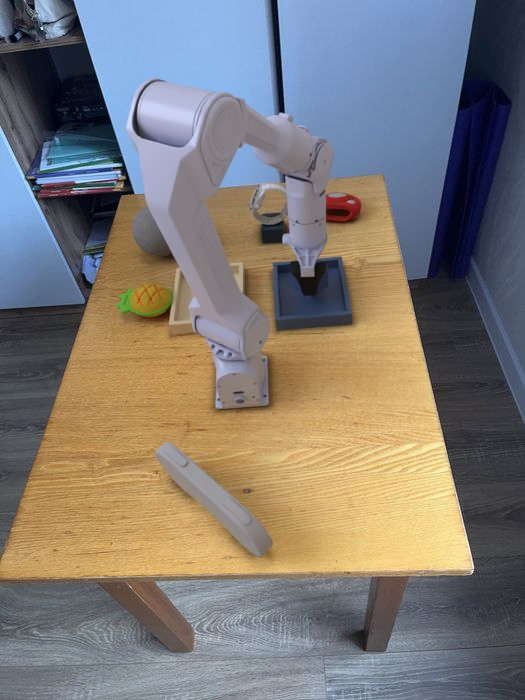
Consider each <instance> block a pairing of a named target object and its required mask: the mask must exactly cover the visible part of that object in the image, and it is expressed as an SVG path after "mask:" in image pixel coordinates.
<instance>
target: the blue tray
mask: <svg viewBox="0 0 525 700" xmlns="http://www.w3.org/2000/svg"><path fill="white" fill-rule="evenodd" d="M290 261H291V260H287V261H277V262H272V278H273V279H272V280H273V281H272V282H273V299H274V301H273V302H274V319H275V320H274V321H275V327H276V331H285V330H298V329H309V328H323V327H333V326H334V327H335V326H345V325H346V326H347V325H352V324H353V310H352V304H351V299H350V294H349V288H348V283H347V278H346V272H345V266H344V261H343V257H342V256H332V257H331V256H330V257H319V258H318V262H320V263H321V262H326V266H327V267H328V287H327V288H325V289H324V290H323V291H322V292H321V293H319V294H318V295H317V296H316V297H314V298H313V299H312V300H311V299H309V298H307V297H306V296H304V295H302V294H301V293H299V292H297V291H296V290H294V289H293V287H292V275H291V272H290ZM296 261H298V260H296Z"/></svg>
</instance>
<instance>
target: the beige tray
mask: <svg viewBox="0 0 525 700" xmlns="http://www.w3.org/2000/svg"><path fill="white" fill-rule="evenodd" d="M229 264H230V267H231V269H232V272H233V274H234V277H235V280H236V282H237V285H238V287H239V290H240V291H241V292H242V293H243V294H244V295H245V296H246V269H245V263H244V261H239V262H238V261H237V262H229ZM174 276H175V277H174V283H173V291H172V296H173V298H172V302H171V305H170V312H169V320H168V327H169V330H170V332H171V335H173V336H174V335H186V334H196V333H195V332H194V330H193V328H192V317H191V313H190V311H189V309H188V307H189V305H190V303H191V301H192V299H193V297H194V294H193V292H192V290H191V288H190V286H189V284H188V283H187V281H186V279H185V277H184V275H183V273H182V271H181V269H180V267H176V269H175V275H174Z"/></svg>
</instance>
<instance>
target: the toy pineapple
mask: <svg viewBox="0 0 525 700" xmlns="http://www.w3.org/2000/svg"><path fill="white" fill-rule="evenodd" d="M118 298H119V299H120V300H121V301H120V302H118V303H116V304H115V307H116V308H117V309H120V313H121V314H122V315H125V314H127V313H130V312H132V313H134V314H136V315H139V316H142V317H145V318H147V317H148V318H153V317H157V316H161V315H163V314H164V313H165V312H166V311H168V310H169V308H170V307H171V305H172V298H173V292H172V291H171V290H170V289H169V288H168V287H165V286H163V285H161V284H158V283H146V284H143V285H140V286H138V287H137V288H135V289H132V288H128V289H127V290H126V292H124V293H121V294H119V296H118Z"/></svg>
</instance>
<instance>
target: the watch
mask: <svg viewBox="0 0 525 700" xmlns="http://www.w3.org/2000/svg"><path fill="white" fill-rule="evenodd" d="M269 191H270V192H272V191H274V192H278V193H281V194H283V195H284V196H285V197H286V198H287V194H286V186H285V185H283V184H281V183H279V182H274V181H270V182H269V181H268V182H263V183H262V184H258V185H257V186H256V187H255V189H254V192H253V194H252V195H251V199H250V203H249V211H251V216H252V217H253V218H254V220H255V221H256V222H258V223H260V224H261V225H260V226H261V227H260V233H261V240H262V244H272V243H273V244H275V243H276V244H277V243H283V235H284V234H286V233H285V231H286V230H285V228H286V227H285V220H286V218H287V217H288V207H287V200H286V201H285V204H284V207H283V208H282V209H281V211H279V212H265V213H259V212H258V211H259V210H260V209H261V207H262V205H263V203H264V200H265V198H266V194H267V192H269Z"/></svg>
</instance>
